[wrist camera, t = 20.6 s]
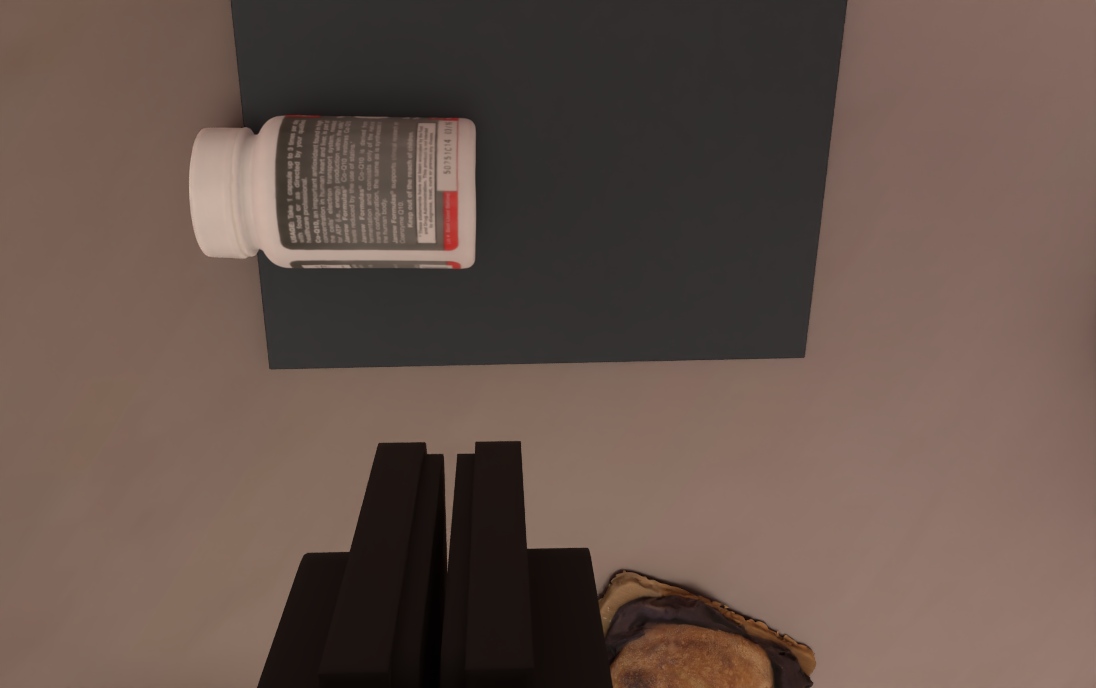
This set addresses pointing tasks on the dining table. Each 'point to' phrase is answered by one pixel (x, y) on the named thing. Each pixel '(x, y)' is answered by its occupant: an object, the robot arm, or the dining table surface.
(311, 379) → the dining table surface
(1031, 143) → the dining table surface
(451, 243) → the pill bottle
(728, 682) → the bread roll
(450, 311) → the mat
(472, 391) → the dining table surface
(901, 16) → the dining table surface
